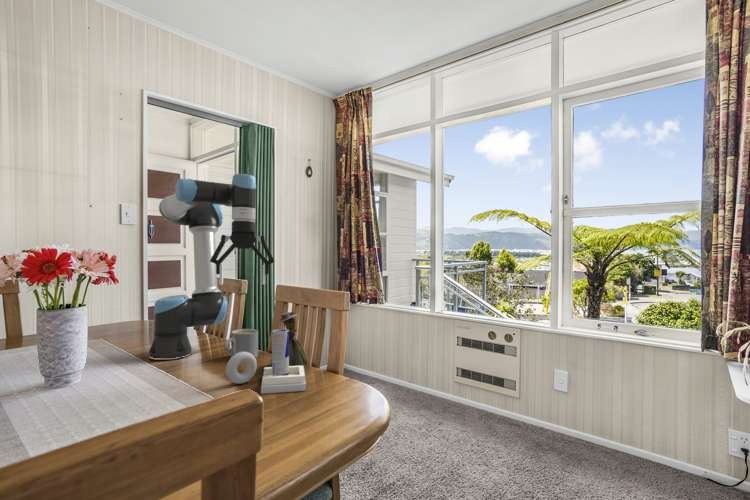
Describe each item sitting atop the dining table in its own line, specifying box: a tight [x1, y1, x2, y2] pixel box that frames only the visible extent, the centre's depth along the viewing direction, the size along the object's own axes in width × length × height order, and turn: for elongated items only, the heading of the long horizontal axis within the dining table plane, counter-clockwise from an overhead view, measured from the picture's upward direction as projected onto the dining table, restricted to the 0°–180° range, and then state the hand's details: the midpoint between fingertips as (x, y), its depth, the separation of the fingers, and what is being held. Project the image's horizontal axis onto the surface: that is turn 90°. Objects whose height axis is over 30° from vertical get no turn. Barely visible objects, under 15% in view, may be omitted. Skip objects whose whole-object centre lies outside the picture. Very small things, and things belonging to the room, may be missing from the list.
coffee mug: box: [223, 328, 259, 358], centre depth 151 cm, size 13×10×10 cm
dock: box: [260, 365, 307, 394], centre depth 123 cm, size 16×13×4 cm
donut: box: [225, 352, 258, 385], centre depth 122 cm, size 10×4×10 cm, turn 135°
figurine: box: [271, 311, 309, 367], centre depth 141 cm, size 14×14×20 cm
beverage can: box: [271, 328, 289, 376], centre depth 122 cm, size 5×5×15 cm
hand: (242, 284), depth 130 cm, fingers open, 13 cm apart
